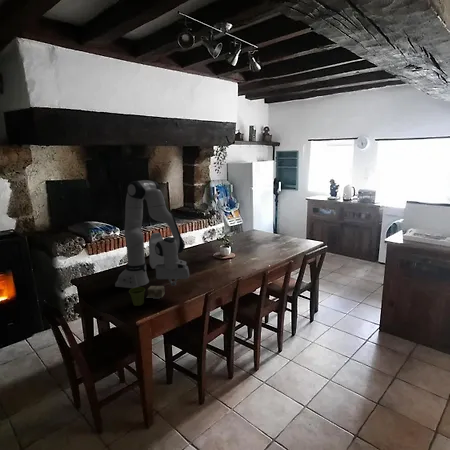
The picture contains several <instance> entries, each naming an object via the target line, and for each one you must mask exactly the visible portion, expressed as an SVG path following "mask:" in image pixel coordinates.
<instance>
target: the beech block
mask: <svg viewBox="0 0 450 450" xmlns="http://www.w3.org/2000/svg"><path fill="white" fill-rule="evenodd" d="M165 291H166V290H165V285H150V286H149V287H148V288H147V296H148V297H161V298H163V297H164V295H165V293H166V292H165Z"/></svg>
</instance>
